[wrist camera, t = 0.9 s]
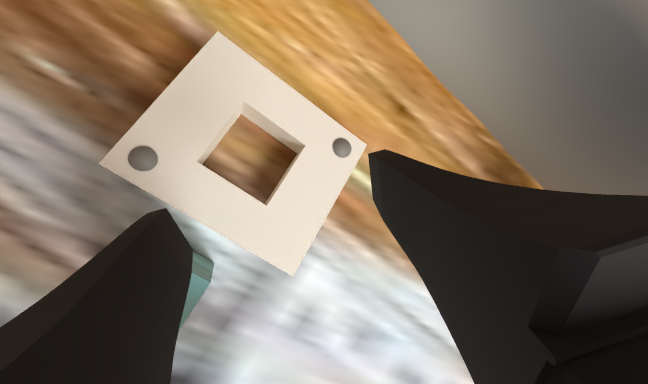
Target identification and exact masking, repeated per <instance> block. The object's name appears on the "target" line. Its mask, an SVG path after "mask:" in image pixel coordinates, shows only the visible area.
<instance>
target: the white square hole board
mask: <svg viewBox="0 0 648 384" xmlns="http://www.w3.org/2000/svg"><path fill="white" fill-rule="evenodd" d="M241 114H242V115H243V116H244V117H246V118H247V119H249V120H250V121H252V122H253V123H254V124H256V125H257V126H259V127H260V128H262V129H263V130H264V131H266V132H267V133H269V134H270V135H272V136H273V137H274V138H276V139H277V140H279V141H280V142H281V143H283V144H284V145H286V146H287V147H289V148H290V149H291V150H293V151H294V152H296V153H297V155H296V156H295V158H294V160H293V161H292V163H291V164H290V166H289V167H288V169H287V170H286V172H285V173H284V175H283V176H282V178H281V180H280V181H279V183H278V184H277V186H276V187H275V189H274V190H273V192H272V193H271V195H270V196H269V198H268V200H267V201H266V203H265V204H263V203H262V202H260V201H258V200H257V199H255V198H254V197H252V196H251V195H249V194H247V193H246V192H244V191H243V190H241V189H239V188H238V187H236V186H235V185H233V184H232V183H230V182H228V181H227V180H225V179H224V178H222V177H220V176H219V175H217V174H216V173H214V172H213V171H211V170H209V169H208V168H206V167H205V166H203V165H202V164H203V163H204V162H205V160H206V159H207V158H208V157H209V155H210V154H211V153H212V151H213V150H214V149H215V147H216V146H217V145H218V143H219V142H220V141H221V139H222V138H223V137H224V136H225V134H226V133H227V132H228V130H229V129H230V128H231V126H232V125H233V124H234V122H235V121H236V120H237V119H238V117H239V116H240V115H241ZM366 146H367V145H366V144H365V143H364V142H362V141H361V140H360V139H358V138H357V137H356V136H354V135H353V134H352V133H350V132H349V131H348V130H346V129H345V128H344V127H343V126H341V125H340V124H339V123H337V122H336V121H335V120H333V119H332V118H331V117H329V116H328V115H327V114H326V113H324V112H323V111H322V110H320V109H319V108H318V107H316V106H315V105H314V104H312V103H311V102H310V101H309V100H307V99H306V98H305V97H303V96H302V95H301V94H299V93H298V92H297V91H295V90H294V89H293V88H292V87H290V86H289V85H288V84H286V83H285V82H284V81H282V80H281V79H280V78H278V77H277V76H276V75H274V74H273V73H272V72H271V71H269V70H268V69H267V68H265V67H264V66H263V65H261V64H260V63H259V62H257V61H256V60H255V59H254V58H252V57H251V56H250V55H248V54H247V53H246V52H244V51H243V50H242V49H240V48H239V47H238V46H237V45H235V44H234V43H233V42H231V41H230V40H229V39H227V38H226V37H225V36H223V35H222V34H221V33H220V32H218V31H217V32H216V33H215V35H214V36H213V37H212V38H211V39H210V40H209V41H208V42H207V43H206V45H205V46H204V47H203V48H202V49H201V50H200V51H199V52H198V53H197V55H196V56H195V57H194V58H193V59H192V60H191V61H190V62H189V63H188V65H187V66H186V67H185V68H184V69H183V70H182V71H181V72H180V73H179V75H178V76H177V77H176V78H175V79H174V80H173V81H172V82H171V84H170V85H169V86H168V87H167V88H166V89H165V90H164V91H163V92H162V94H161V95H160V96H159V97H158V98H157V99H156V100H155V101H154V102H153V104H152V105H151V106H150V107H149V108H148V109H147V110H146V111H145V112H144V114H143V115H142V116H141V117H140V118H139V119H138V120H137V121H136V122H135V124H134V125H133V126H132V127H131V128H130V129H129V130H128V131H127V133H126V134H125V135H124V136H123V137H122V138H121V139H120V140H119V141H118V143H117V144H116V145H115V146H114V147H113V148H112V149H111V150H110V151H109V153H108V154H107V155H106V156H105V157H104V158H103V159H102V160H101V161H100V163H99V164H100V165H102V166H103V167H105V168H107V169H108V170H110V171H112V172H114V173H115V174H117V175H119V176H121V177H122V178H124V179H126V180H127V181H129V182H131V183H133V184H134V185H136V186H138V187H139V188H141V189H143V190H145V191H146V192H148V193H150V194H152V195H153V196H155V197H157V198H158V199H160V200H162V201H164V202H165V203H167V204H169V205H171V206H172V207H174V208H176V209H177V210H179V211H181V212H183V213H184V214H186V215H188V216H190V217H191V218H193V219H195V220H196V221H198V222H200V223H202V224H203V225H205V226H207V227H209V228H210V229H212V230H214V231H215V232H217V233H219V234H221V235H222V236H224V237H226V238H228V239H229V240H231V241H233V242H234V243H236V244H238V245H240V246H241V247H243V248H245V249H247V250H248V251H250V252H252V253H253V254H255V255H257V256H259V257H260V258H262V259H264V260H265V261H267V262H269V263H271V264H272V265H274V266H276V267H278V268H279V269H281V270H283V271H284V272H286V273H288V274H290V275H291V276H293V275H294V273H295V272H296V270H297V268H298V266H299V265H300V263H301V261H302V259H303V257H304V256H305V254H306V252H307V250H308V249H309V247H310V245H311V243H312V241H313V240H314V238H315V236H316V234H317V233H318V231H319V229H320V227H321V226H322V224H323V222H324V220H325V218H326V217H327V215H328V213H329V211H330V210H331V208H332V206H333V204H334V202H335V201H336V199H337V197H338V195H339V194H340V192H341V190H342V188H343V187H344V185H345V183H346V181H347V179H348V178H349V176H350V174H351V172H352V171H353V169H354V167H355V165H356V164H357V162H358V160H359V158H360V156H361V155H362V153H363V151H364V149H365V148H366Z"/></svg>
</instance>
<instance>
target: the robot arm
mask: <svg viewBox="0 0 648 384" xmlns="http://www.w3.org/2000/svg"><path fill="white" fill-rule="evenodd" d="M368 157H369V166H370V175H371V185H372V194H373V200H374V203H375V205H376V207H377V209H378V211H379V213H380V215H381V217H382V219H383V221H384V222H385V224H386V225H387V227H388V228H389V230H390V231H391V233H392V234H393V236H394V237H395V239H396V240H397V242H398V243H399V245H400V246H401V248H402V249H403V250H404V252H405V253H406V255H407V256H408V258H409V259H410V261H411V262H412V264H413V265H414V267H415V268H416V270H417V271H418V273H419V275H420V276H421V278H422V280H423V282H424V283H425V285H426V287H427V289H428V291H429V293H430V295H431V296H432V298H433V300H434V302H435V304H436V306H437V308H438V310H439V312H440V314H441V316H442V318H443V319H444V321H445V323H446V325H447V327H448V329H449V331H450V333H451V335H452V337H453V339H454V341H455V343H456V346H457V348H458V350H459V352H460V354H461V356H462V358H463V360H464V362H465V364H466V366H467V368H468V370H469V373H470V375H471V377H472V379H473V381H474V383H475V384H648V196H634V195H601V194H586V193H572V192H560V191H550V190H541V189H534V188H527V187H520V186H513V185H506V184H501V183H495V182H490V181H486V180H481V179H477V178H472V177H468V176H464V175H460V174H457V173H453V172H450V171H446V170H443V169H440V168H437V167H434V166H431V165H428V164H425V163H422V162H419V161H417V160H414V159H411V158H408V157H406V156H403V155H400V154H398V153H395V152H392V151H389V150H381V151H377V152H373V153H369V154H368ZM192 263H193V249H192V248H191V246H190V245H189V243H188V241H187V240H186V238H185V237H184V235H183V234H182V232H181V230H180V229H179V227H178V226H177V224H176V223H175V221H174V220H173V218H172V216H171V215H170V213H169V212H168V210H167V209H166V208H165V209H161V210H157V211H154V212H150V213H147V214H146V215H144V216H143V217H141V218H140V219H139V220H137V221H136V222H135V223H134V224H132V225H131V226H130V227H129V228H128V229H126V230H125V231H124V232H123V233H122V234H120V235H119V236H118V237H117V238H116V239H115V240H113V241H112V242H111V243H110V244H109V245H108V246H106V247H105V248H104V249H103V250H102V251H101V252H99V253H98V254H97V255H96V256H95V257H94V258H92V259H91V260H90V261H89V262H87V263H86V264H85V265H84V266H82V267H81V268H80V269H79V270H78V271H76V272H75V273H74V274H73V275H71V276H70V277H69V278H68V279H66V280H65V281H64V282H63V283H62V284H60V285H59V286H58V287H56V288H55V289H54V290H52V291H51V292H50V293H48V294H47V295H46V296H44V297H43V298H42V299H40V300H39V301H38V302H36V303H35V304H33V305H32V306H31V307H29V308H28V309H26V310H25V311H24V312H22V313H21V314H19V315H18V316H17V317H15V318H14V319H12V320H11V321H9V322H8V323H6V324H5V325H3V326H2V327H0V384H170V380H171V372H172V364H173V356H174V350H175V345H176V340H177V335H178V331H179V327H180V323H181V318H182V314H183V310H184V306H185V302H186V298H187V293H188V289H189V284H190V280H191V274H192Z"/></svg>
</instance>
